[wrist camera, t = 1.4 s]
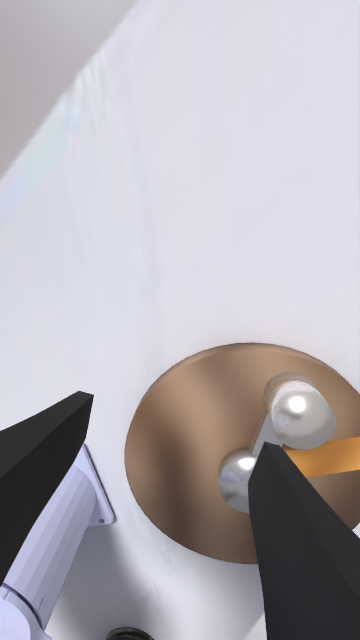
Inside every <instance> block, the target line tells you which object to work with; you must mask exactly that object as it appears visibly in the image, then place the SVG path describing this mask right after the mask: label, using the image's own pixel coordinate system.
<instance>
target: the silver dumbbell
mask: <svg viewBox="0 0 360 640" xmlns="http://www.w3.org/2000/svg"><path fill="white" fill-rule="evenodd" d="M263 397H264V401H265V404H266V405H265V408H264V410H263V413H262V416H261V418H260V421H259V423H258V426H257V428H256V431H255V434H254V436H253V439H252V441H251V444H250V446H249V447H242V448H238V449H235V450H233V451H231V452H230V453H228V454H227V455H226V456H225V457H224V458H223V460H222V461H221V463H220V466H219V471H218V473H219V490H220V493H221V496H222V498H223V499H224V501H225V502H226V503H227V504H228V505H229V506H231V507H232V508H234V509H236V510H238V511H241V512H245V513H249V501H248V481H249V478H250V476H251V473H252V471H253V468H254V466H255V463H256V461H257V458H258V456H259V453H260V451H261V448H262V446H263V444H264V441H265V442H269V443H272V444H276V445H280V446H281V447H282V445H283V443H284V444H285V445H287V446H289V447H291V448H294V449H299V450H308V449H313V448H316V447H319V446H321V445H323V444H324V443H326V442H327V441H328V440H329V439H330V438H331V436H332V435H333V433H334V431H335V428H336V417H335V414H334V412H333V411H332V409H331V408H330V406H329V405H328V403H327V402H326V401H325V399H324V398H323V396H322V395H321V394H320V392H319V391H318V390H317V388H316V387H315V385H314V384H313V383H312V381H311V380H310V379H309V378H308V377H307V376H306V375H304V374H302V373H299V372H295V371H285V372H281V373H279V374H277V375H275V376H273V377H272V378H271V379H270V380H269V381H268V382H267V384H266V386H265V388H264V392H263Z"/></svg>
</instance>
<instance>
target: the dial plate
mask: <svg viewBox="0 0 360 640" xmlns="http://www.w3.org/2000/svg"><path fill="white" fill-rule="evenodd" d="M285 371H295V372H299V373H302V374H304V375H306V376H307V377H308V378H309V379H310V380H311V381H312V383H313V384H314V385H315V387H316V388H317V390H318V391H319V392H320V394H321V395H322V396H323V398H324V399H325V401H326V402H327V403H328V405H329V406H330V408H331V409H332V411H333V412H334V414H335V417H336V428H335V431H334V433H333V435H332V436H331V438H330V439H329V440H328V441H327V442H326V443H324V444H323V445H321V446H319V447H316V448H313V449H308V450H299V449H294V448H291V447H289V446H287V445H285V444H284V443H283V445H282V449H283V450H284V451H285V452H286V453H287V455H288V456H289V457H290V458H291V460H292V461H293V462H294V463H295V465H296V466H297V467H298V468H299V470H300V471H301V472H302V473H303V475H304V476H305V477H306V478H307V480H308V481H309V482H310V483H311V485H312V486H313V487H314V488H315V490H316V491H317V492H318V493H319V494H320V496H321V497H322V498H323V499H324V500H325V501H326V503H327V504H328V505H329V506H330V507H331V508H332V509H333V511H334V512H335V513H336V514H337V515H338V516H339V517H340V518H341V520H342V521H343V522H344V523H345V524H346V525H347V526H348V527H349V528H350V529H351V530H353V529H354V528H355V527H356V526H357V525H358V524H359V523H360V394H359V393H358V392H357V391H356V390H355V389H354V388H353V387H352V386H351V385H350V384H349V382H348V381H347V380H345V379H344V378H343V377H342V376H341V375H340V374H339V373H338V372H336V371H335V370H334V369H333V368H331V367H330V366H328V365H327V364H325V363H324V362H322V361H320V360H318V359H316V358H314V357H312V356H310V355H308V354H306V353H303V352H300V351H297V350H295V349H292V348H289V347H284V346H279V345H274V344H265V343H235V344H229V345H223V346H217V347H214V348H211V349H207V350H204V351H201V352H199V353H196V354H194V355H192V356H190V357H187V358H185V359H184V360H182V361H180V362H179V363H177V364H175V365H174V366H172V367H171V368H170V369H169V370H167V371H166V372H165V373H164V374H162V375H161V376H160V377H159V378H158V379H157V380H156V381H155V382H154V383H153V384H152V385H151V387H150V388H149V389H148V391H147V392H146V394H145V395H144V396H143V398H142V400H141V402H140V404H139V406H138V408H137V410H136V412H135V414H134V417H133V419H132V422H131V425H130V428H129V431H128V434H127V438H126V444H125V469H126V476H127V479H128V482H129V486H130V489H131V491H132V493H133V495H134V497H135V500H136V502H137V503H138V505H139V506H140V508H141V509H142V511H143V512H144V514H145V515H146V516H147V517H148V518H149V519H150V521H151V522H152V523H153V524H154V525H155V526H156V527H157V528H159V529H160V530H161V531H162V532H163V533H164V534H166V535H167V536H168V537H170V538H171V539H172V540H174V541H175V542H177V543H179V544H181V545H182V546H184V547H186V548H188V549H190V550H192V551H195V552H197V553H199V554H202V555H205V556H208V557H211V558H214V559H218V560H223V561H227V562H233V563H241V564H258V560H257V554H256V548H255V543H254V537H253V531H252V525H251V519H250V513H245V512H241V511H238V510H236V509H234V508H232V507H231V506H229V505H228V504H227V503H226V502H225V501H224V499H223V498H222V496H221V493H220V490H219V473H218V471H219V466H220V463H221V461H222V460H223V458H224V457H225V456H226V455H227V454H228V453H230V452H231V451H233V450H235V449H238V448H242V447H249V446H250V444H251V441H252V439H253V436H254V434H255V431H256V428H257V426H258V423H259V421H260V418H261V416H262V413H263V410H264V408H265V405H266V404H265V401H264V397H263V392H264V388H265V386H266V384H267V382H268V381H269V380H270V379H271V378H272V377H273V376H275V375H277V374H279V373H281V372H285Z"/></svg>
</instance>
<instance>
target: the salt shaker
mask: <svg viewBox="0 0 360 640" xmlns="http://www.w3.org/2000/svg"><path fill="white" fill-rule="evenodd" d="M106 640H154V639H153V638H152V637H151V636H150V635H148V634H147V633H145V632H143V631H141V630H138V629H134V628H118V629H115V630H113V631H111V632H110V633H109V634H108V635H107V637H106Z"/></svg>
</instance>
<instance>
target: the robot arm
mask: <svg viewBox="0 0 360 640" xmlns="http://www.w3.org/2000/svg"><path fill="white" fill-rule="evenodd" d="M93 397H94V395H92V394H89V393H85V392H81V391H78V392H76V393H74V394H72V395H70V396H68V397H67V398H65V399H63V400H61V401H60V402H58V403H56V404H54V405H53V406H51V407H49V408H47V409H45V410H43V411H41V412H40V413H38V414H36V415H34V416H32V417H30V418H28V419H26V420H24V421H21V422H19V423H17V424H15V425H13V426H11V427H9V428H6V429H4V430H2V431H0V640H52V638H51V637H50V636H48V635H47V634H46V633H45V632H44V631H45V629H46V626H47V624H48V621H49V619H50V616H51V614H52V611H53V609H54V607H55V604H56V602H57V599H58V597H59V594H60V592H61V589H62V587H63V585H64V582H65V580H66V577H67V575H68V572H69V570H70V567H71V565H72V563H73V560H74V558H75V555H76V553H77V550H78V548H79V545H80V543H81V541H82V538H83V536H84V533H85V531H86V528H87V527H94V526H101V525H108V524H111V523H112V522H113V519H114V515H113V512H112V510H111V508H110V505H109V503H108V500H107V498H106V496H105V493H104V491H103V489H102V486H101V484H100V482H99V479H98V477H97V474H96V472H95V470H94V467H93V465H92V463H91V460H90V458H89V455H88V453H87V451H86V448H85V446H84V445H83V443H84V441H85V439H86V434H87V429H88V424H89V418H90V413H91V408H92V403H93ZM248 501H249V513H250V519H251V525H252V531H253V537H254V543H255V548H256V554H257V560H258V566H259V571H260V577H261V583H262V591H263V598H264V610H265V621H266V631H267V640H360V538H359V537H358V536H357V535H356V534H355V533H354V532H353V531H352V530H351V529H350V528H349V527H348V526H347V525H346V524H345V523H344V522H343V521H342V520H341V518H340V517H339V516H338V515H337V514H336V513H335V512H334V511H333V509H332V508H331V507H330V506H329V505H328V504H327V503H326V501H325V500H324V499H323V498H322V497H321V496H320V494H319V493H318V492H317V491H316V490H315V488H314V487H313V486H312V485H311V483H310V482H309V481H308V480H307V478H306V477H305V476H304V475H303V473H302V472H301V471H300V470H299V468H298V467H297V466H296V465H295V463H294V462H293V461H292V460H291V458H290V457H289V456H288V455H287V453H286V452H285V451H284V450H283V449H282V447H281V446H280V445H276V444H272V443H269V442H265V441H264V444H263V446H262V448H261V451H260V453H259V456H258V458H257V461H256V463H255V466H254V468H253V471H252V473H251V476H250V478H249V481H248Z"/></svg>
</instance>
